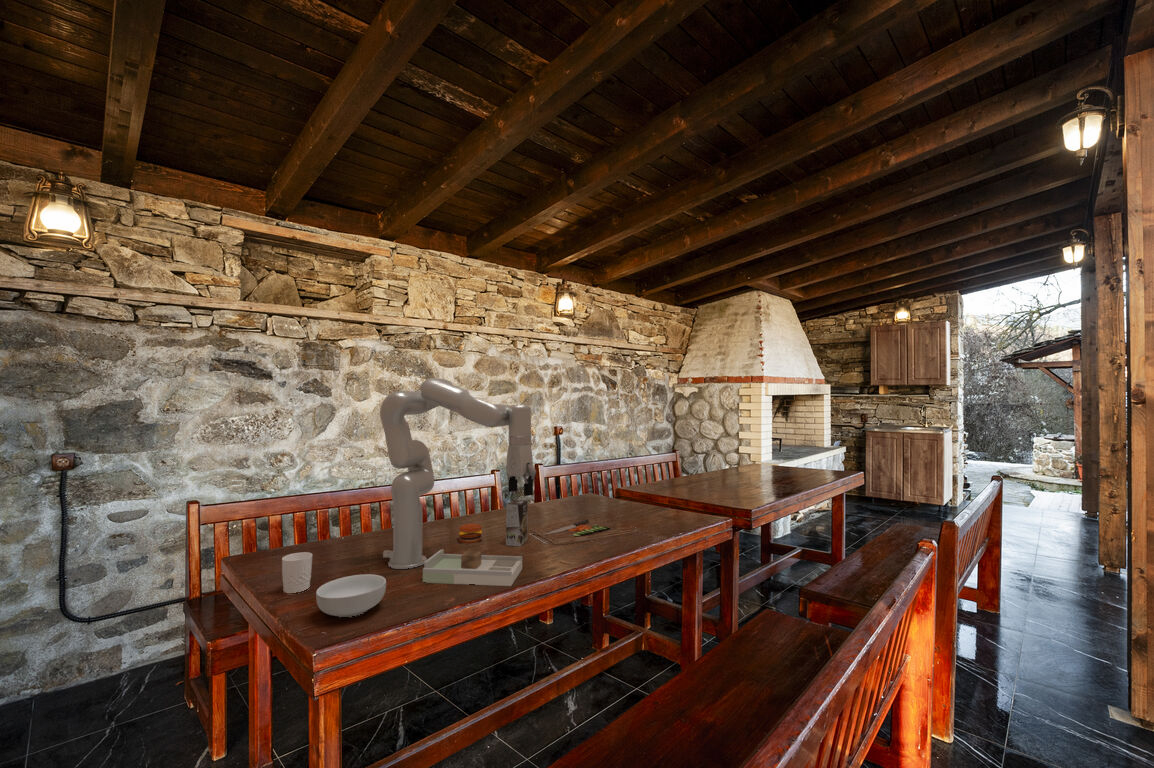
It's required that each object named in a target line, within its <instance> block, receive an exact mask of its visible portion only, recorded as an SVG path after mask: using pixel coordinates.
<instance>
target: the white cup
mask: <svg viewBox="0 0 1154 768" xmlns="http://www.w3.org/2000/svg"><path fill="white" fill-rule="evenodd" d="M312 565H313V553H312V552H305V551H304V552H295V553H290V554H287V555H284V556H283V557H282V558H281V573H282V574H281V575H282V584H283V585H282V590H283V591H284V592H286V593H296V592H301V591H304V590H306V589H308V588H309V587H310V588H311V579H312V578H311V577H312V567H313V566H312ZM310 588H309V589H310ZM309 589H308V590H309ZM284 592H283V593H284Z"/></svg>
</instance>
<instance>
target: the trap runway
mask: <svg viewBox="0 0 1154 768" xmlns="http://www.w3.org/2000/svg"><path fill="white" fill-rule="evenodd" d="M444 551H445V550H444V549H439V550H438V551H437V552H435V553H434V554H432V555H431V556H430V557H429V558H427V560H426V561H425V562H424V564H423V566H424V567H423V568H422V583H423V582H426V583H425V584H446V585H448V584H449V585H469V584H475V586H478V585H479V586H494V587H495V586H496V587H497V586H498V587H499V586H500V587H512V586H513V584H514V582H515V581H516V580H517V578H518V576H519V575H520V574H521V572H522V570H523V556H522V555H518V556H517V555H493V554H492V555H490V554H487V555H486V554H481V565H480V566H479V567H478V568H477V569H462V568H461V555H463V554H464V553H463V554H460V553H459V554H458V553H444Z"/></svg>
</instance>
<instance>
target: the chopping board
mask: <svg viewBox="0 0 1154 768" xmlns="http://www.w3.org/2000/svg"><path fill="white" fill-rule="evenodd" d="M603 519H604V518H599V519H591V520H590V519H584V520H581V521H576V522H570V523H562V524H555V525H548V526H541V527H535V528H532V529H531V532H528V535H529V534H530V535H529V536H531V535H532V534H534V533H535V535H532V536H533V537H532V536H531V537H532V538H534V537H535V538H534V539H535V540H537V539H538V540H537V541H539V540H540V541H541V542H540V541H539V542H540V543H542V542H543V543H542V544H544V545H547V543H546V542H550V543H549V544H551V543H552V544H551V545H553V544H554V545H553V546H556V545H564V546H569V545H568V544H570V545H575V544H574V543H576V544H580V543H579V542H582V543H586V542H585V541H588V542H591V541H590V540H594V541H596V540H595V539H599V538H603V537H609V536H614V535H620V534H626V533H632V532H636V531H638V529H634V531H631V532H625V530H624V531H622V530H621V531H619V532H625V533H619V534H614V533H618V532H617V529H618V528H617V529H615V528H616V527H614V529H613V524H614V523H613V524H611V523H609V524H610V525H609V524H606V526H607V527H606V526H605V523H606V521H607V520H605V522H603ZM597 520H601V521H597ZM592 521H594V522H592ZM609 527H611V528H609ZM631 528H632V527H631ZM611 529H612V530H611ZM620 529H622V528H620ZM623 529H624V528H623ZM537 530H538V532H537ZM626 531H630V530H626ZM532 532H533V533H532ZM539 532H540V533H539ZM536 534H537V535H539V536H540V537H539V536H537V535H536ZM608 534H613V535H608ZM603 535H606V536H603ZM599 536H600V537H599ZM541 537H542V538H543V540H542V538H541ZM544 539H545V540H544ZM546 540H547V541H546Z"/></svg>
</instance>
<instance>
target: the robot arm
mask: <svg viewBox="0 0 1154 768" xmlns="http://www.w3.org/2000/svg"><path fill="white" fill-rule="evenodd" d="M439 407H442V408H443V409H447V410H448V411H452V412H454V413H457V415H459V416H461V417H463V418H465V419H467V420H468V421H470V422H473V423H476V424H478V425H481V426H482V427H483V426H484V427H487V428H497V427H498V428H499V427H506V426H508V448H507V451H506V464H505V470H506V476H507V480H508V483H507V484H508V485H507V488H508V492H509V493H513V492H517V491H518V478H522V479H523V481H524V483H523V496H524V497H527V496H528V497H529V496H533V495H534V483H535V479H536V474H537V470H536V468H534V460H533V449H532V408H531V406H530V405H528V404H513V405H508V404H501V403H498V404H496V403H495V404H493V403H489V402H487V401H484V400H481V399H479V398H476V397H474V396H473V395H471V394H470V392H469V390H467V389H465V388H462V387H461V386H460V387H459V386H457V385H454V384H453V383H452V382H451V381H450V380H447V379H446V378H445V379H444V378H439V377H438V378H437V377H430V378H426V379H425V380H424V381H423V382H421V383H420V386H419V390H417V391H411V390H397V391H394V392H392V393H390V394H389V395H387V396H386V397H385V398H384V399H383V401H382V403H381V405H380V407H379V408H380V409H379V416H380V421H381V426H382V429H383V433H384V437H385V442H386V449H387V454H388V458H389V462H390V464H391V466H392V467H393V468H395V469H397V470H398V469H407V471H405V472H402V473H400V474H398V475H396V476H395V478H393V480H392V482H391V486H390V493H391V499H392V504H393V541H392V543H393V544H392V547H393V548H392V550H389V549H387V550H386V549H384V550H383V553H382V558H385V559H386V558H387V559H388V558H389V561H388V562H387V563H388V564H387V565H388V567H389V568H390V567H391V569H394V570H408V568H409V569H414V567H415V568H418V566H419V567H421V566H424V562H425V561H426V560H427V559H428V558H427V556H425V555H423V506H422V502H421V498H420V497H421V496H424V495H426V494H428V493H430V492H431V491H432V490H433V488H434V486H435V473H434V469H433V465H432V460H431V455H430V451H429V449H428V447H427V445H426V444H425V443H424V442H423V441H421V440H418V439H413V437H412V434H411V428H410V426H409V424H408V422H407V420H406V418H405V416H410V415H411V416H413V415H421V414H424V413H427V412H428V411H432V410H433V409H436V408H439Z"/></svg>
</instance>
